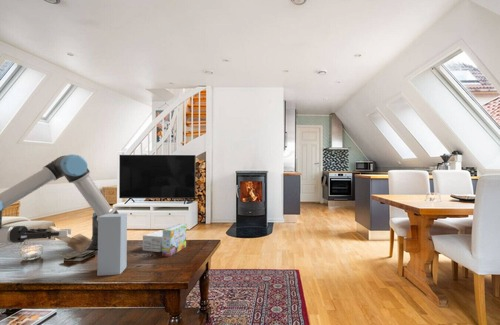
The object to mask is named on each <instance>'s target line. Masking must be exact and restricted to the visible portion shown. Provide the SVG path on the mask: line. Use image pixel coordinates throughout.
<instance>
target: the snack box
mask: <svg viewBox="0 0 500 325" xmlns="http://www.w3.org/2000/svg"><path fill="white" fill-rule="evenodd" d="M162 230H163V240H162V251H161V253H162V254H161V256H162V257H168V258H169V257H172V256H174V255H175V254H176V253H178V252H180V251H181V250H183V249H185V248H186V247H187V223H177V224H175V225H172V226H170V227H168V228H165V229H162Z"/></svg>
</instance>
